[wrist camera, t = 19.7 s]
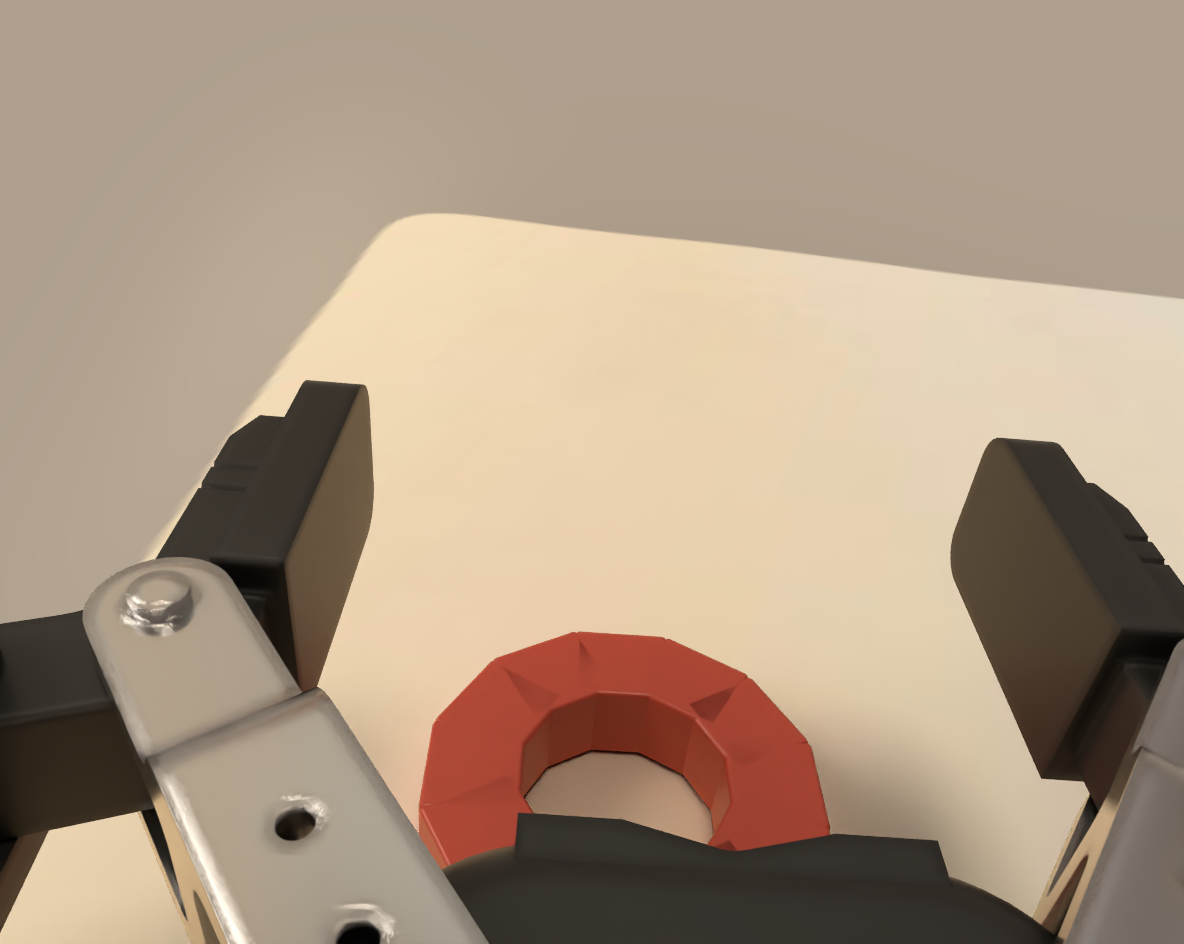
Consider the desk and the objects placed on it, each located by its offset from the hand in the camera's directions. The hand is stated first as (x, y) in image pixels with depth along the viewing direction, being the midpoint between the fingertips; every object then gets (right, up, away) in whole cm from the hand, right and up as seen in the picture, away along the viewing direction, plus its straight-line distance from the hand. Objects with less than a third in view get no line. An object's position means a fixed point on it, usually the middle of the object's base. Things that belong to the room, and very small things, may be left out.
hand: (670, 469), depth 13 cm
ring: (-1, -5, +2) cm, 5 cm away
